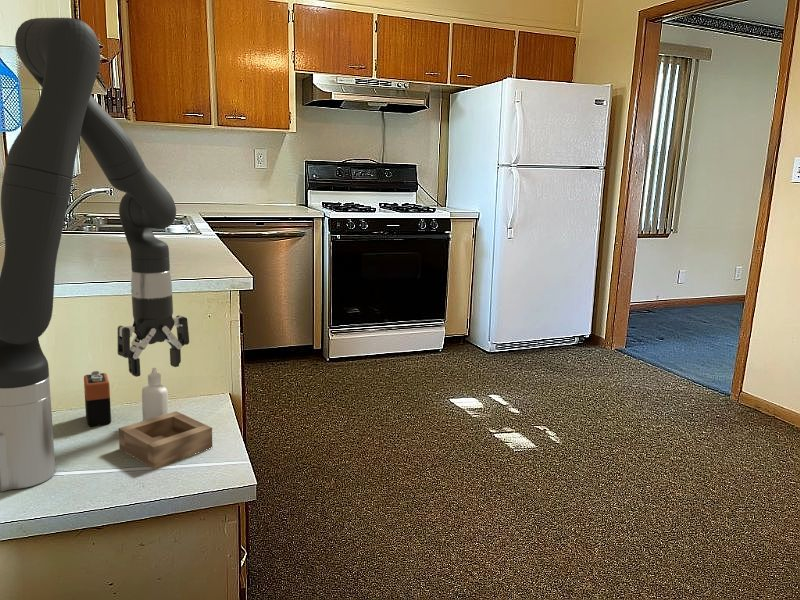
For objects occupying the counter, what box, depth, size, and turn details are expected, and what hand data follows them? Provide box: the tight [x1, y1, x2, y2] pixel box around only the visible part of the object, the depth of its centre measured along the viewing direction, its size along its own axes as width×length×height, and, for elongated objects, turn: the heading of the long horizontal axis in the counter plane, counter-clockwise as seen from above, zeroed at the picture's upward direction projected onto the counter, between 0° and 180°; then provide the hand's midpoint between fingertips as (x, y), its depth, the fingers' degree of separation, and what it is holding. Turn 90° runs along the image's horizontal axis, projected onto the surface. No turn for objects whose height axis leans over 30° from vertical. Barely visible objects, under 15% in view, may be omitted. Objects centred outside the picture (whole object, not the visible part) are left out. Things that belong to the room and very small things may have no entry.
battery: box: [83, 370, 112, 427], centre depth 128 cm, size 4×7×10 cm, turn 30°
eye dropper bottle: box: [141, 367, 169, 421], centre depth 127 cm, size 4×6×12 cm
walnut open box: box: [118, 411, 213, 470], centre depth 117 cm, size 12×12×4 cm
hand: (156, 370), depth 126 cm, fingers open, 8 cm apart
